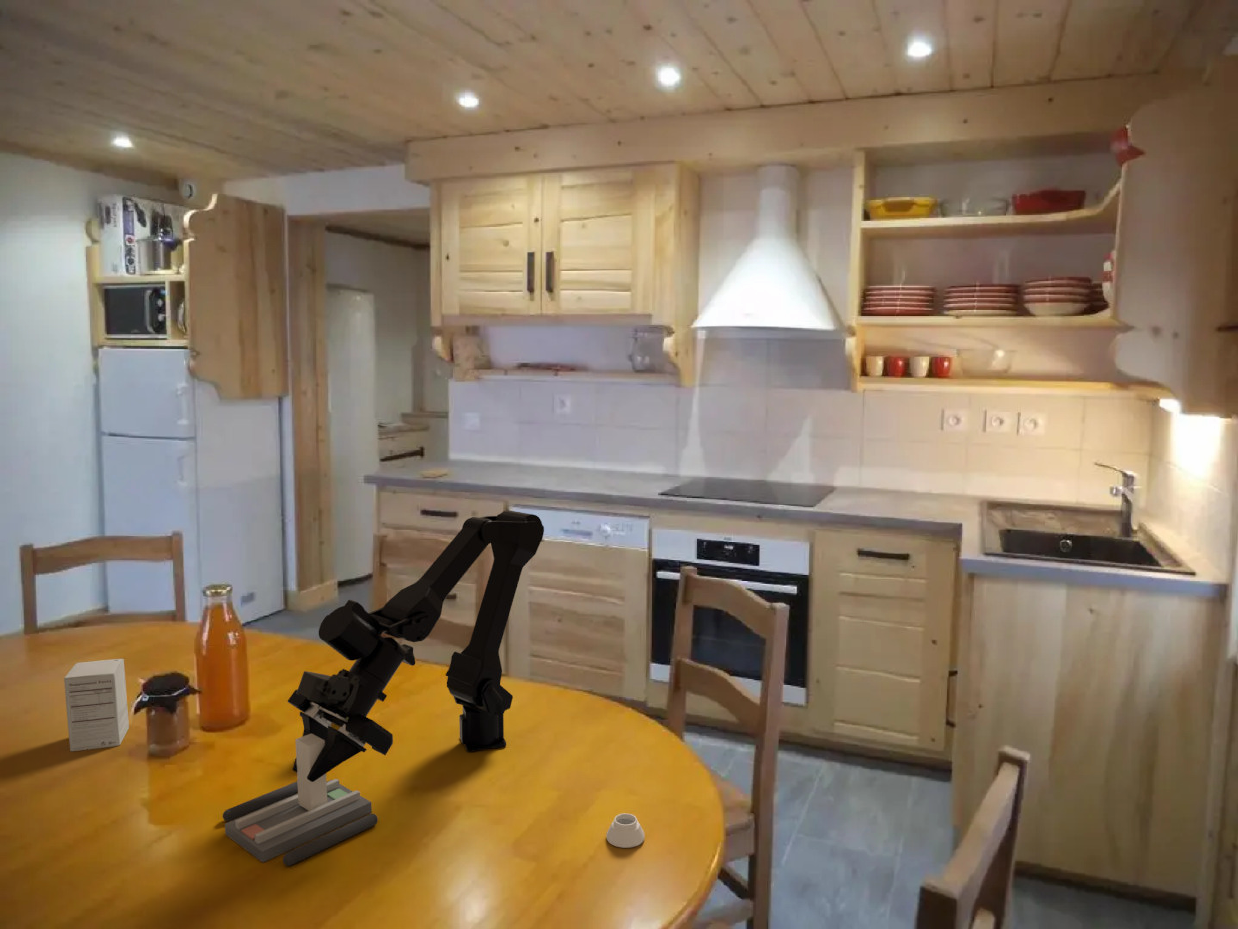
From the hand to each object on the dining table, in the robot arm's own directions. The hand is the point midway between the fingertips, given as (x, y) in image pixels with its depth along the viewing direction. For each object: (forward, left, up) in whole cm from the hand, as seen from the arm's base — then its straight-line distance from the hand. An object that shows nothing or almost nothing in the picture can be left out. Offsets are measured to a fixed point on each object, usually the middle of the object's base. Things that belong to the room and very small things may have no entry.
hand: (302, 776), depth 118 cm
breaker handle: (-1, -1, -5) cm, 5 cm away
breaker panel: (0, 0, -7) cm, 7 cm away
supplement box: (+32, -38, -7) cm, 50 cm away
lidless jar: (-40, +19, -7) cm, 45 cm away
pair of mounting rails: (0, 0, -7) cm, 7 cm away
